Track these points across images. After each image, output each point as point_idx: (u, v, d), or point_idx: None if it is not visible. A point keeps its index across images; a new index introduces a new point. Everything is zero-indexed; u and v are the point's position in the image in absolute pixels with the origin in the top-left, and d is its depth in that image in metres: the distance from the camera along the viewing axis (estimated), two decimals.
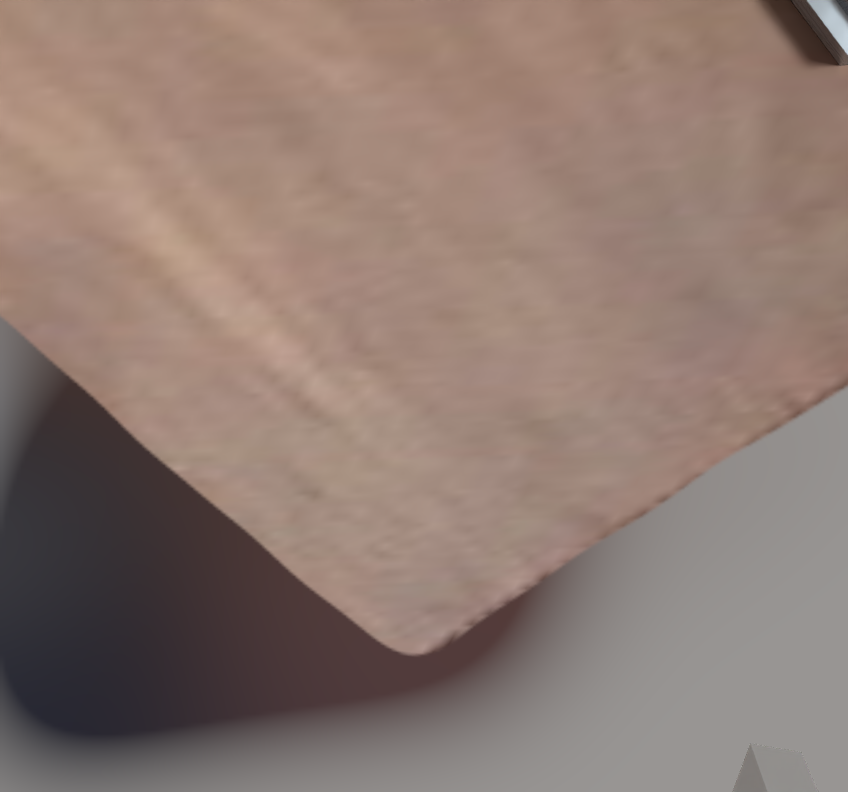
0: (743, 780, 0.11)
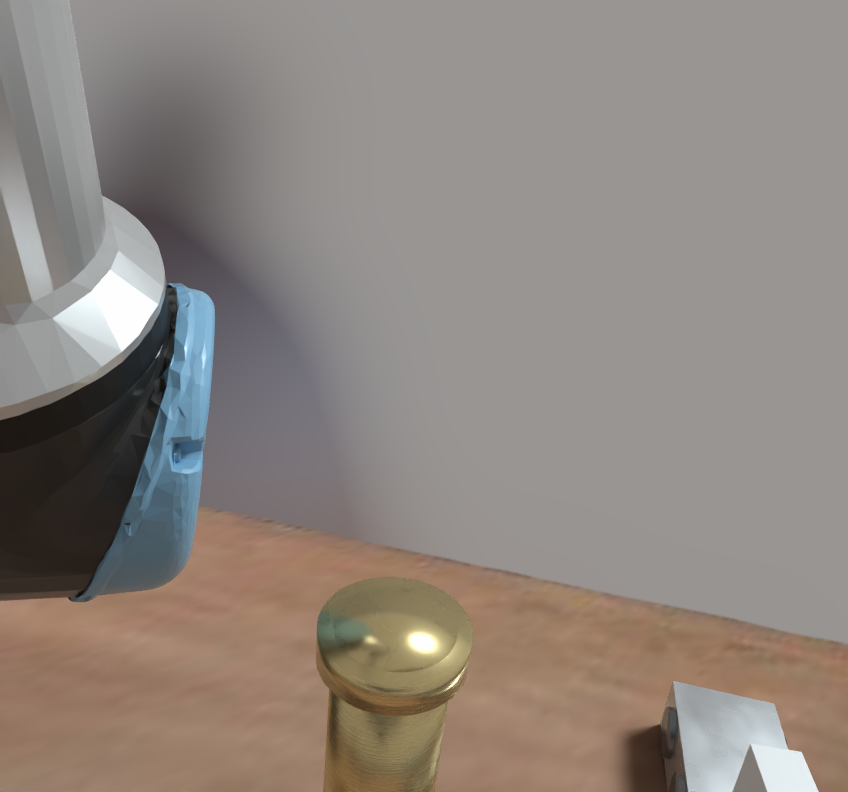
0: (743, 780, 0.11)
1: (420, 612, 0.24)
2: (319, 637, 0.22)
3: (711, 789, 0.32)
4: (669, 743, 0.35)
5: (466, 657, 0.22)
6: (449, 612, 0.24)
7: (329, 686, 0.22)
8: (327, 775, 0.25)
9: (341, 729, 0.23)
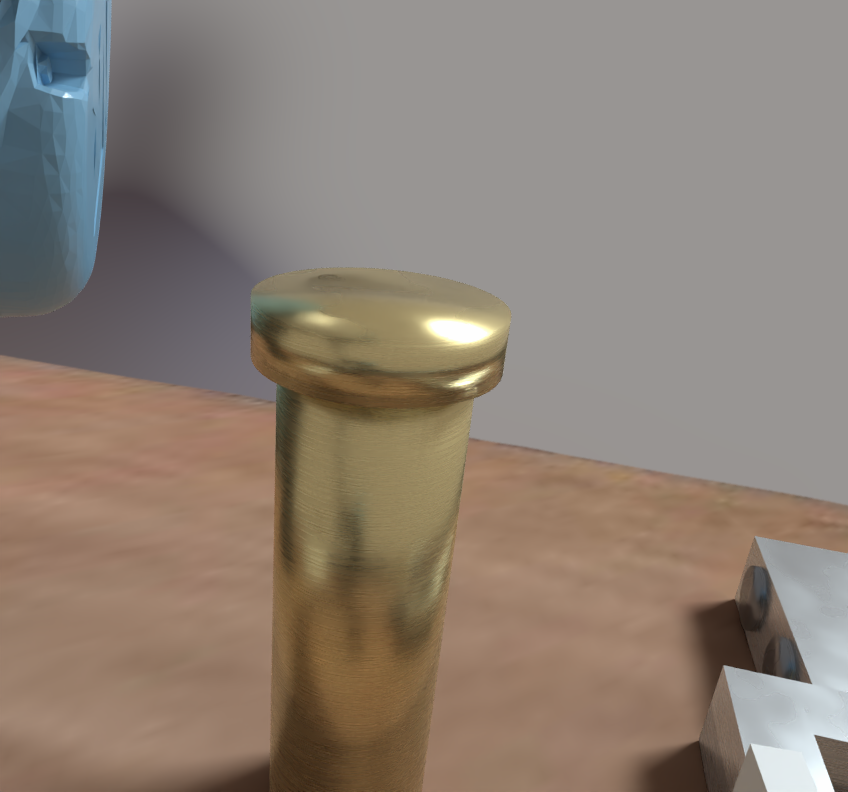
0: (743, 780, 0.11)
1: (423, 292, 0.15)
2: (253, 299, 0.13)
3: (830, 650, 0.23)
4: (757, 608, 0.26)
5: (502, 329, 0.13)
6: (470, 295, 0.15)
7: (269, 373, 0.13)
8: (276, 570, 0.16)
9: (293, 468, 0.14)
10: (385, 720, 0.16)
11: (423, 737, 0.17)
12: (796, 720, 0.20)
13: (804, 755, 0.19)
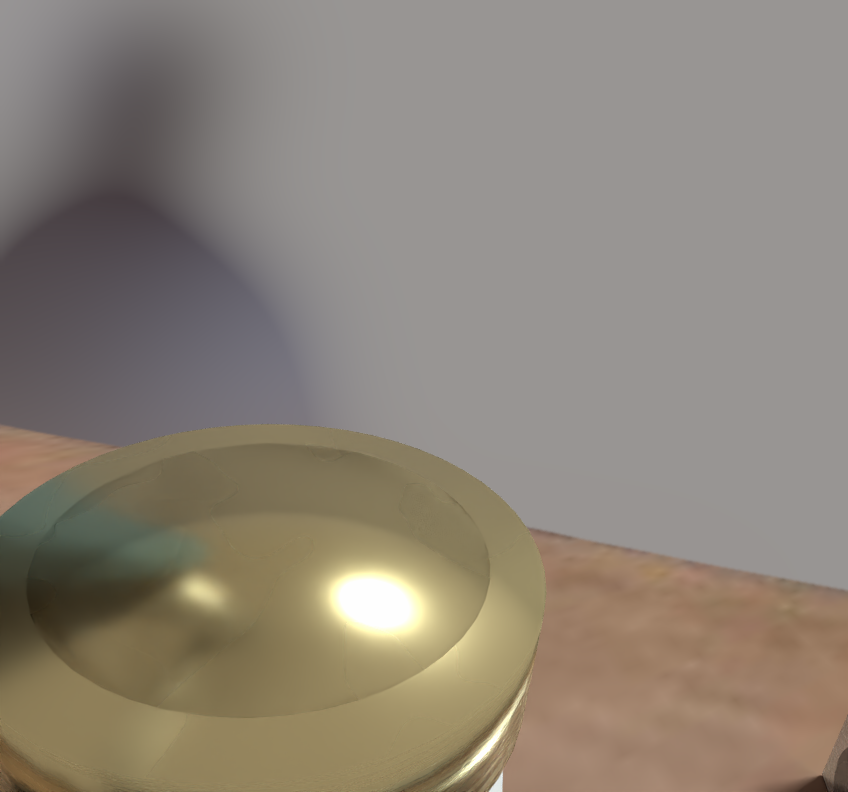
0: None
1: (365, 507, 0.07)
2: None
3: None
4: None
5: (530, 651, 0.06)
6: (460, 507, 0.08)
7: None
8: None
9: None
10: None
11: None
12: None
13: None
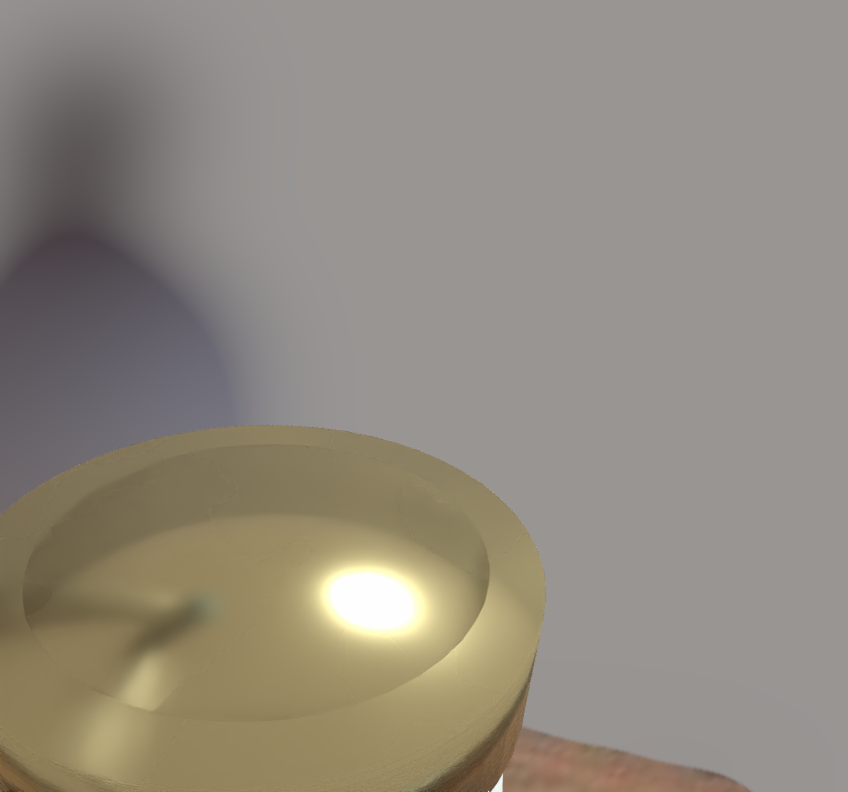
0: None
1: (364, 508, 0.07)
2: None
3: None
4: None
5: (529, 654, 0.06)
6: (459, 509, 0.07)
7: None
8: None
9: None
10: None
11: None
12: None
13: None
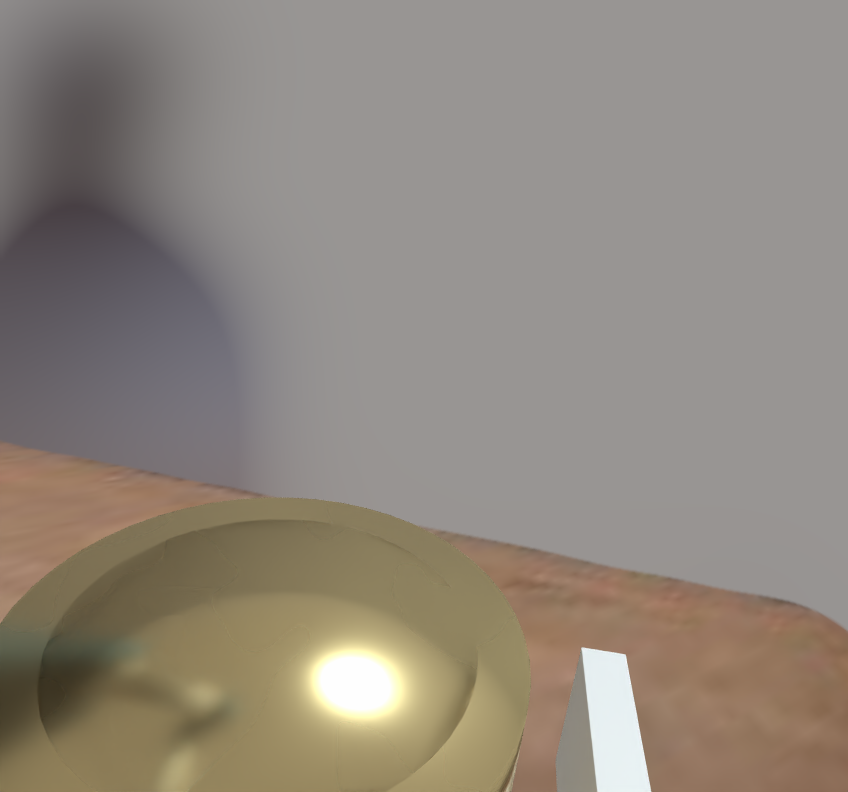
0: (576, 680, 0.13)
1: (359, 591, 0.08)
2: None
3: None
4: None
5: (514, 750, 0.06)
6: (450, 589, 0.08)
7: None
8: None
9: None
10: None
11: None
12: None
13: None
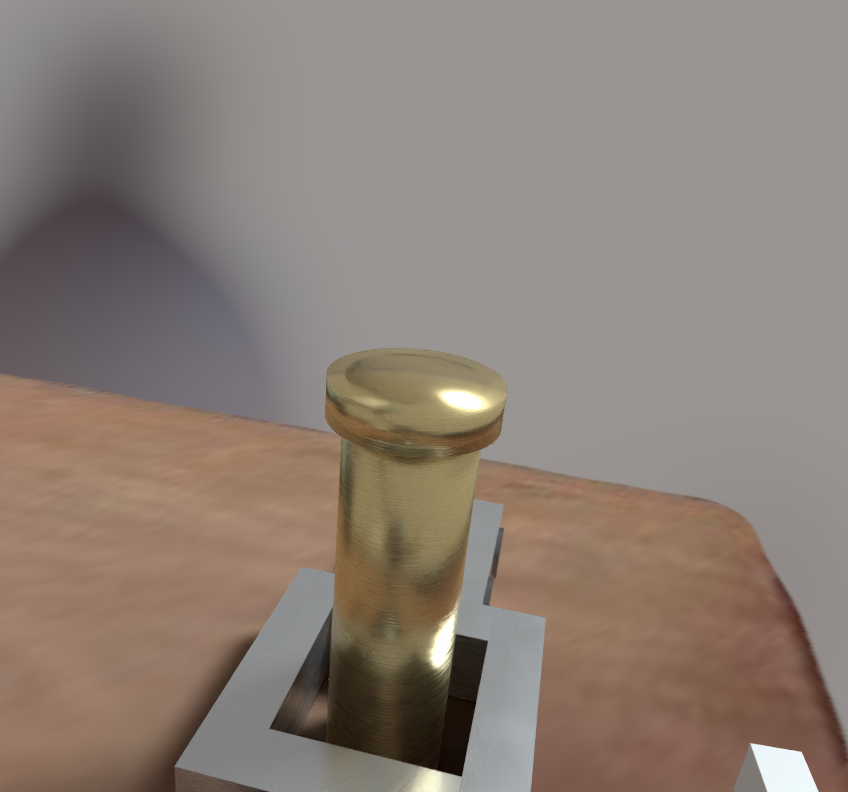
0: (743, 780, 0.11)
1: (445, 370, 0.21)
2: (329, 381, 0.19)
3: None
4: None
5: (500, 401, 0.19)
6: (478, 371, 0.21)
7: (341, 433, 0.19)
8: (338, 568, 0.22)
9: (355, 496, 0.20)
10: (417, 678, 0.22)
11: (444, 694, 0.23)
12: (327, 598, 0.28)
13: (313, 618, 0.27)
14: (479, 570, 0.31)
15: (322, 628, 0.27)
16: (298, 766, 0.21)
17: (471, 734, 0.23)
